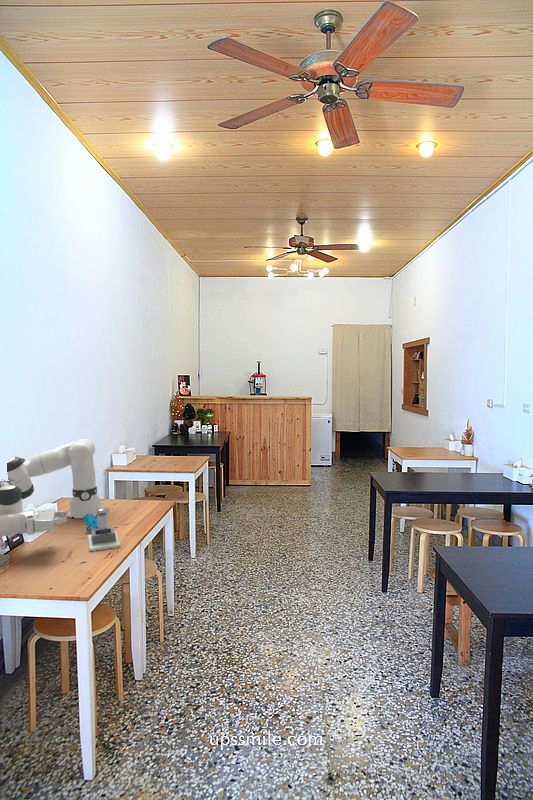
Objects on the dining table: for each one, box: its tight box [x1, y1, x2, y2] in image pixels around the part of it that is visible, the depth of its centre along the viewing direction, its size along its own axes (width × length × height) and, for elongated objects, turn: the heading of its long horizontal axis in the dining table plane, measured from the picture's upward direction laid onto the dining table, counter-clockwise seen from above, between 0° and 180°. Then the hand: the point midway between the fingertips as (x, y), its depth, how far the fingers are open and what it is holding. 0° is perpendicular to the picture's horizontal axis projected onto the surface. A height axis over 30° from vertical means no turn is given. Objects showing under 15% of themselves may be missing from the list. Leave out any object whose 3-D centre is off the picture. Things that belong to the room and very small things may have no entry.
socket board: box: [87, 526, 121, 552], centre depth 215 cm, size 20×12×5 cm, turn 21°
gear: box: [82, 514, 98, 531], centre depth 234 cm, size 11×6×10 cm
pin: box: [95, 506, 110, 534], centre depth 215 cm, size 6×6×13 cm
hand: (66, 516), depth 209 cm, fingers open, 8 cm apart
